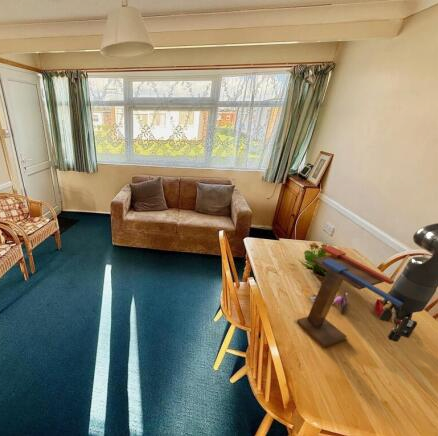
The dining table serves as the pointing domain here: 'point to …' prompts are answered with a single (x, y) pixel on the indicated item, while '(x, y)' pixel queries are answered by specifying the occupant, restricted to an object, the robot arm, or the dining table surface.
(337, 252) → the red spatula
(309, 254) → the potted flower
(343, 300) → the pink toy figure
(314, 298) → the grey flat lumpy piece
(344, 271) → the blue paddle stick
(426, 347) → the dining table surface
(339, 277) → the shelf stand
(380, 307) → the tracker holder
